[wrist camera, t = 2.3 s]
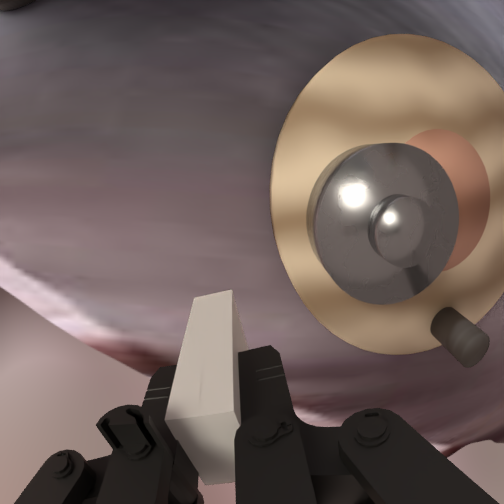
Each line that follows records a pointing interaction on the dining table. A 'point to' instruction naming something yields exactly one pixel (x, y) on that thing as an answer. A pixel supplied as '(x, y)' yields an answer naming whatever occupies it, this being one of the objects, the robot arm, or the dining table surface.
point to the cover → (383, 221)
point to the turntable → (423, 137)
